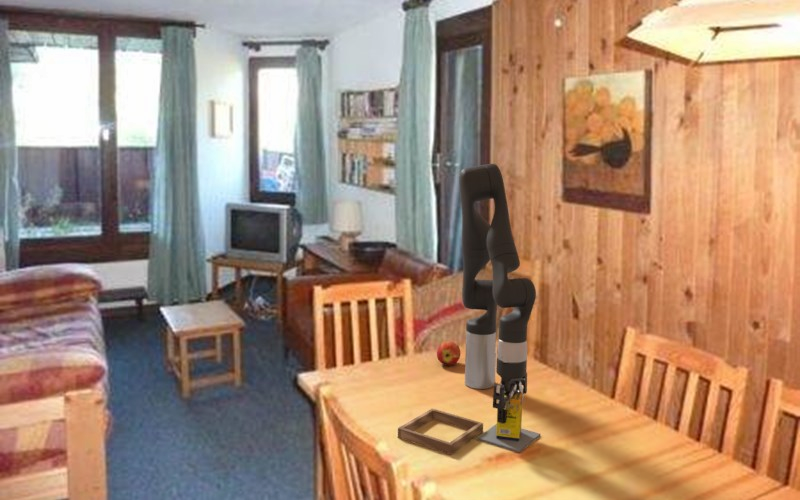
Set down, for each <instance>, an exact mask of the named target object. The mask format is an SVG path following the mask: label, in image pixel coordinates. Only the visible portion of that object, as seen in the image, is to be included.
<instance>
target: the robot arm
mask: <svg viewBox="0 0 800 500" xmlns="http://www.w3.org/2000/svg"><path fill="white" fill-rule="evenodd" d="M458 178H459V179H458V181H459V194H460V202H461V203H460V204H461V205H460V207H461V216H462V219H461V222H462V228H461V229H462V230H461V232H462V233H461V248H462V249H461V250H462V263H463V264H462V265H463V266H462V267H463V270H462V271H463V272H462V273H463V274H462V290H461V291H462V293H461V294H462V295H461V296H462V304H463V306H464V307H465V308H466V309H469V310H479V311H481V310H482V311H485V312H484V313H483V314H481V315H479V316H476V317H472V318H471V319H469V320H467V322H466V325H465V326H466V327H465V331H466V332H465V357H464V358H465V361H464V362H465V363H464V364H465V365H464V385H466V387H468V388H471V389H477V390H479V389H480V390H484V389H490V388H492V387H493V396H492V398H493V399H492V408H493V409H498V416H497V415H496V422H497V421H498V422H499V423H503V424H505V423H506V420H507V406H508V403H509V402H510V401H511V400H512V397H513V395H514V394H517V393H521V394H522V393H523V398H524V397H525V395H526V394H527V392H528V372H527V368H528V367H527V365H528V340H527V338H528V323H529V320H530V318H531V314H532V312H533V308H534V305H535V302H536V297H537V290H536V287H535V284H534V282H533V281H532V280H531V279H529V278H527V277H520V278H517V277H516V278H509V277H508V276H509V275H508V274H510V273H512V272H514V271H516V270H518V268H519V267H520V265H521V261H520V258H519V257H520V256H519V254H518V253H519V252H518V249H517V246H516V243H515V241H514V240H515V239H514V236H513V232H512V227H511V221H510V214H509V206H508V200H507V194H506V189H505V184H504V179H503V175H502V171H501V169H500V167H499V166H498V164H496V163H486V164H480V165H474V166H468V167H465V168H463V169H462V170H460V173H459V177H458ZM490 199H493V203H494V210H493V211H494V212H493V217H492V220H491V223H489V222H488V221H487V220H486V219H485V218H484V217H483V216H482V215H481V214H480V212H479V211H478V210H477V207H476V206H475V203H476V202H481V201H485V200H490ZM489 262H490V263H491V268H492V279H478V278H477V279H476V277H477V275H478V274H479V273H480V272H481V270H482V269H484V268H485V266H486V265H487V264H488V263H489ZM498 307H500V308H503V309H508V308H509V309H510V308H513V309H512V311H510V313H507V314H505V315H502V316H501V317H500V318H499V322H498V341H497V311H498ZM496 342H497V343H496ZM496 345H497V346H496ZM496 374H497V375H498V376H499V377H500V384H496V383H495V382H496ZM504 395H505V396H508V397H505V396H504ZM504 400H505V403H504Z"/></svg>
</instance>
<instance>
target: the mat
mask: <svg viewBox="0 0 800 500" xmlns="http://www.w3.org/2000/svg"><path fill="white" fill-rule="evenodd" d="M496 431H497V423H496V424H494V425H493V426H491V427H490V428H489V429H488V430H486V431H483V432H482V433H481V434H480V435H478V436H477V437H476V440H477V441H479V442H481V443H486V444H488V445H489V444H490V445H492V446H495V447H499V448H502V449H506V450H509V451H512V452H515V453H518V454H519V453H521V452H523V451H524V450H525V449H526V448H527V447H529V446H530V445H531V444H532V443H533V442H535V441H536V440H537V439H538V438H539V437H541V433H538V432H535V431H532V430H528V429H526V428H523V427H521V433H520V437H519V441H515V440H507V439H499V438H496Z"/></svg>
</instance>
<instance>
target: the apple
mask: <svg viewBox="0 0 800 500" xmlns="http://www.w3.org/2000/svg"><path fill="white" fill-rule="evenodd" d="M436 358H437V360H438V362H440V363H441V364H442V365H445V366H453V365H455V364H457V362H459V360H460V358H461V349H460V346H459V345H458V344H457V343H456V342H454V341H451V340H447V341H444V342H442V343H441V344H440V345H439V346H438V347H437V350H436Z"/></svg>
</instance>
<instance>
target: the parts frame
mask: <svg viewBox="0 0 800 500" xmlns="http://www.w3.org/2000/svg"><path fill="white" fill-rule="evenodd" d="M433 420H435V421H438V422H441V423H445V424H448V425H452V426H455V427H458V428H461V429H465V430H466V431H465V432H463V433H461V434H460V435H459V436H458V437H456V438H455V439H453V440H451V441H450V442H449V441H446V440H442V439H440V438H436V437H433V436H430V435H428V434H427V435H426V434H424V433H422V432H421V433H420V432H417V431H415V430H418V429H420V428H421V427H422V426H424V425H426V424H427V423H429V422H431V421H433ZM483 433H484V422H481V421H477V420H474V419H471V418H467V417H464V416H459V415H456V414H452V413H450V412H446V411H442V410H438V409H436V408H430V409H429V410H427V411H425V412H424V413H422V414H420V415H418V416H417V417H415V418H413V419H411V420H410V421H408V422H406V423H404V424H403V425H401V426H399V427H397V438H398V439H401V440H405V441H408V442H410V443H411V442H412V443H414V444H417V445H420V446H423V447H426V448H430V449H432V450H435V451H438V452H441V453H444V454H446V455H447V454H448V455H452V454H454V453H455V452H457V451H458V450H460V449H461V448H463V447H464V446H466V445H467V444H468V443H470V442H471V441H472V440H474V439H475V438H477V437H479V436H480V435H481V434H483Z"/></svg>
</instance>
